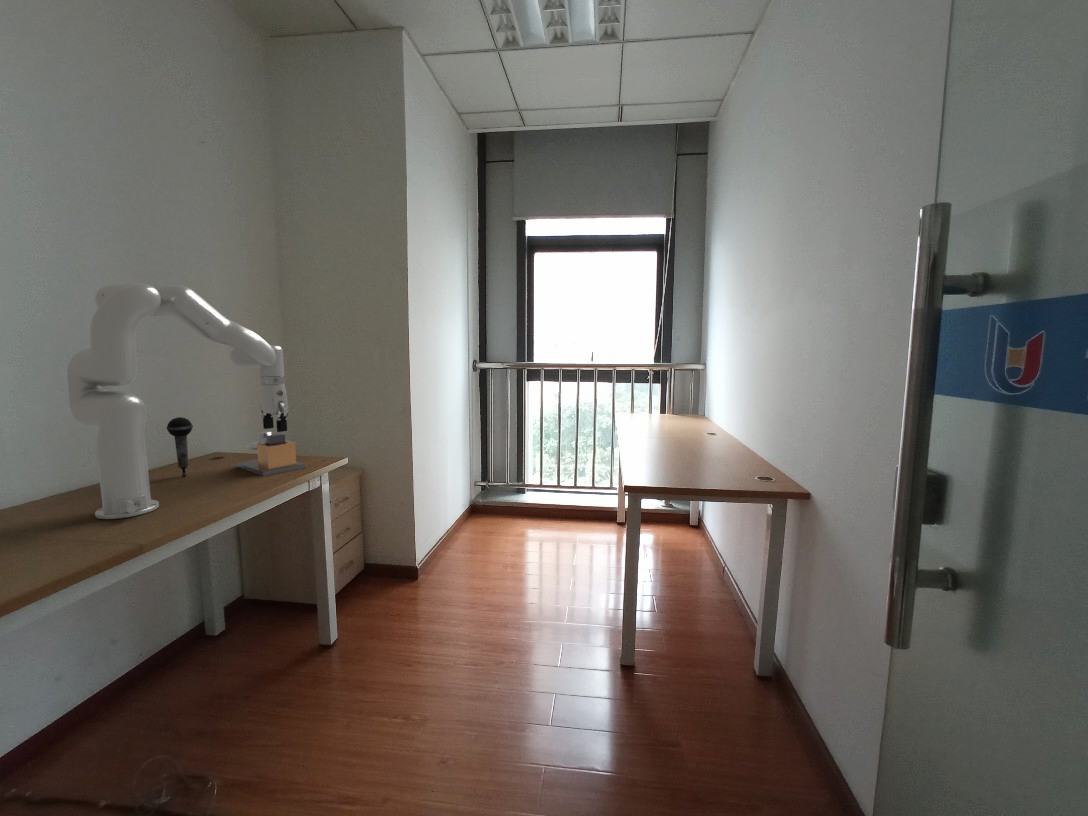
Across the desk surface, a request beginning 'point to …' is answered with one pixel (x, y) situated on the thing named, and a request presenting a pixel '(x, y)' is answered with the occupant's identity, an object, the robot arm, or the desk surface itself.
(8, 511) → the desk surface
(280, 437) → the grey rectangular block
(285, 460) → the orange slotted box
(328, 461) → the desk surface
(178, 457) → the microphone
